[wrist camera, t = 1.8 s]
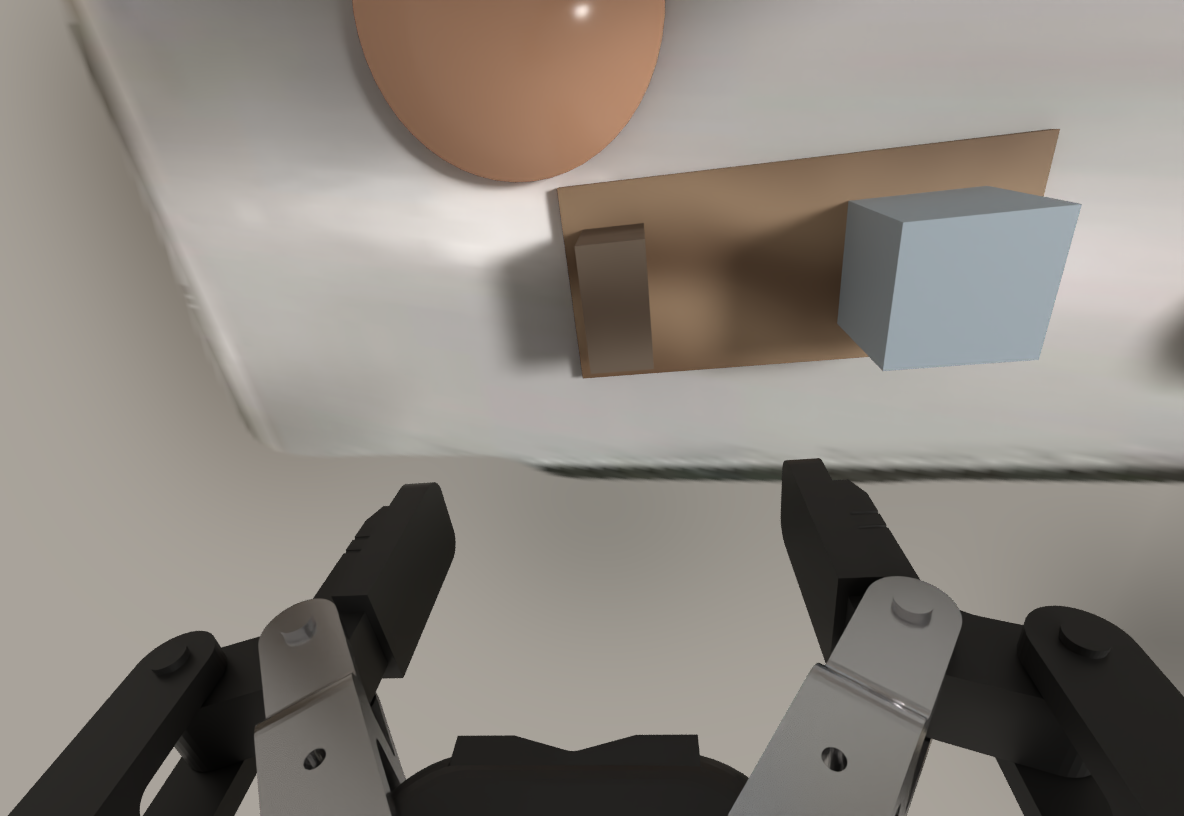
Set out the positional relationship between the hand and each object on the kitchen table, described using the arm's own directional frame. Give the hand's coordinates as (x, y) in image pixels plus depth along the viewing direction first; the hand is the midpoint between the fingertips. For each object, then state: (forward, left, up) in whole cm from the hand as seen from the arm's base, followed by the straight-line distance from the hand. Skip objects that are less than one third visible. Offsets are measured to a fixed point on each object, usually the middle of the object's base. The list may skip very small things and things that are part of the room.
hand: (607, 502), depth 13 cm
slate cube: (0, +14, -18) cm, 22 cm away
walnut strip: (0, +8, -18) cm, 20 cm away
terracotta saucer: (-12, -4, -18) cm, 22 cm away
